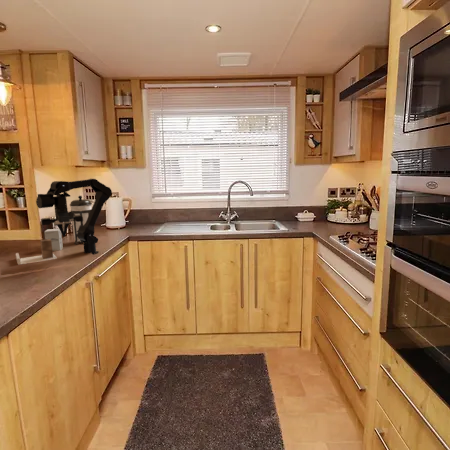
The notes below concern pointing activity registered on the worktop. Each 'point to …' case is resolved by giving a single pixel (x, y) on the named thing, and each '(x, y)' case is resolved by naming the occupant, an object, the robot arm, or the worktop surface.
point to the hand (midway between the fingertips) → (64, 236)
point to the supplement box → (54, 238)
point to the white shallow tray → (32, 259)
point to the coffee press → (82, 209)
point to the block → (46, 248)
